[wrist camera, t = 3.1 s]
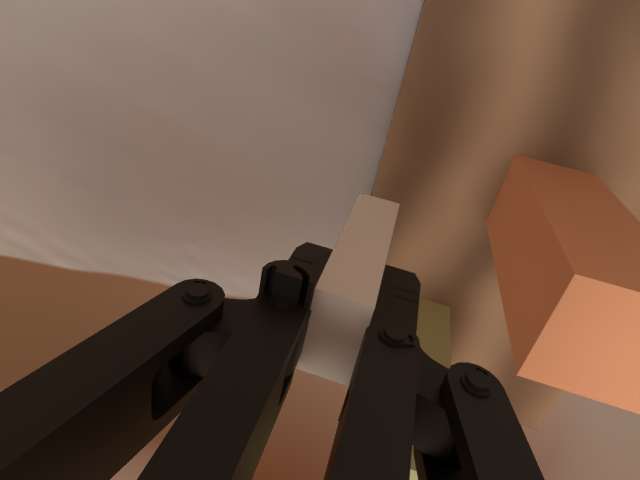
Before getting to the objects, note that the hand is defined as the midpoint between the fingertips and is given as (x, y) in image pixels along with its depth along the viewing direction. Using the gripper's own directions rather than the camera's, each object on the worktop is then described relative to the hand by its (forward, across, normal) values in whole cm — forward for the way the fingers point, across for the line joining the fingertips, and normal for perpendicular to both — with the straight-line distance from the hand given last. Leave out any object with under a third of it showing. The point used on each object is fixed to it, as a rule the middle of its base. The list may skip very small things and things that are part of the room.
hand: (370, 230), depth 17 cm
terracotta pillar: (+9, +8, 0) cm, 12 cm away
